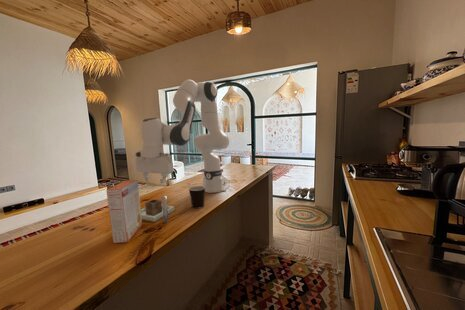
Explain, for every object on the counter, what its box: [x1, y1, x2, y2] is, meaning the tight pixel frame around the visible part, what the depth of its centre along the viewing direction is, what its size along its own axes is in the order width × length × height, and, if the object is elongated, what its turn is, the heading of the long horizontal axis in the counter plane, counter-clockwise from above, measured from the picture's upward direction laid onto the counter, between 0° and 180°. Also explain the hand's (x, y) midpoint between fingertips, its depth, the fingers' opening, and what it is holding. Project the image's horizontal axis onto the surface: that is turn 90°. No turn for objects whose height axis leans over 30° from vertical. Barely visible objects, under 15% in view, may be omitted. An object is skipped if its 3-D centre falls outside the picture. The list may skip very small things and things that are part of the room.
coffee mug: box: [188, 185, 206, 209], centre depth 110 cm, size 12×9×10 cm
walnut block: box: [144, 198, 162, 216], centre depth 100 cm, size 5×5×6 cm
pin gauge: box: [161, 195, 169, 224], centre depth 90 cm, size 2×2×12 cm
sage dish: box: [141, 205, 175, 223], centre depth 100 cm, size 14×14×2 cm
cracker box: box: [106, 179, 143, 244], centre depth 80 cm, size 14×6×21 cm, turn 3°
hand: (155, 182), depth 94 cm, fingers open, 8 cm apart
